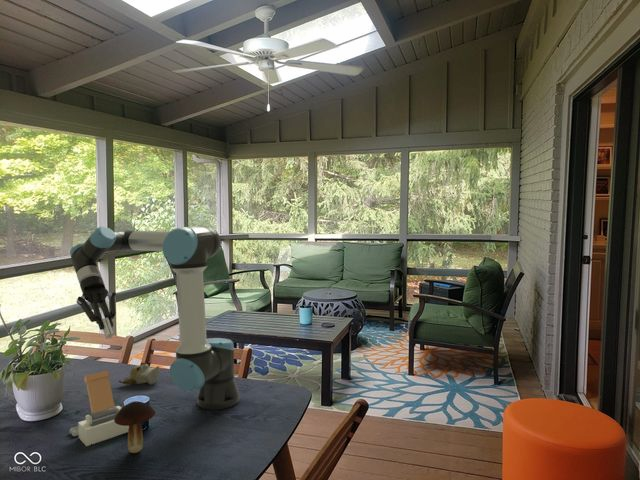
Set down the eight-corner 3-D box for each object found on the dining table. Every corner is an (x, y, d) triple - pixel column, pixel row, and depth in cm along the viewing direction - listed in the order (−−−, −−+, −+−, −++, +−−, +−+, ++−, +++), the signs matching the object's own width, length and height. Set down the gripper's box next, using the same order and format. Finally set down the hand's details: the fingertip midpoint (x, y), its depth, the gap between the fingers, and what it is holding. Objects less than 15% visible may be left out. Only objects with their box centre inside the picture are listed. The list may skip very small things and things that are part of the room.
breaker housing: (68, 433, 144) (67, 410, 144) (117, 418, 155) (116, 397, 154) (81, 447, 136) (80, 423, 135) (131, 430, 146) (130, 408, 145)
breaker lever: (91, 420, 141) (83, 377, 145) (114, 413, 146) (106, 371, 150) (94, 419, 139) (85, 375, 143) (117, 412, 144) (108, 370, 148)
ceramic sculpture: (152, 366, 179) (116, 367, 181) (154, 388, 180) (118, 389, 181) (164, 358, 190) (130, 359, 192) (166, 378, 190) (132, 379, 192)
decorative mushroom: (115, 465, 126) (113, 413, 125) (115, 446, 136) (113, 397, 135) (157, 457, 131) (155, 406, 130) (154, 439, 141) (153, 391, 140)
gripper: (107, 285, 171) (127, 338, 161) (68, 289, 162) (86, 346, 151) (112, 272, 167) (132, 326, 156) (72, 276, 158) (90, 333, 147)
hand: (109, 335), depth 154 cm, fingers closed
